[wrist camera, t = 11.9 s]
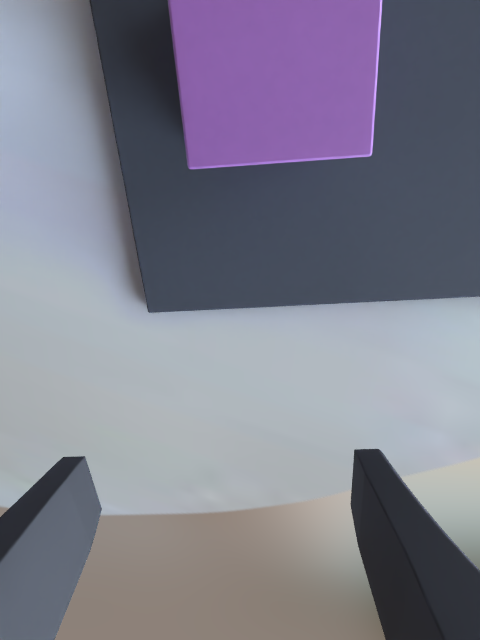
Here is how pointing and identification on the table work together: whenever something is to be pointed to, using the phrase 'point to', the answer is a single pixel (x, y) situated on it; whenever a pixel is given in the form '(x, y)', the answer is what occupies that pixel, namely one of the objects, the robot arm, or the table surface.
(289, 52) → the block
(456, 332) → the table surface
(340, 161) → the mat
